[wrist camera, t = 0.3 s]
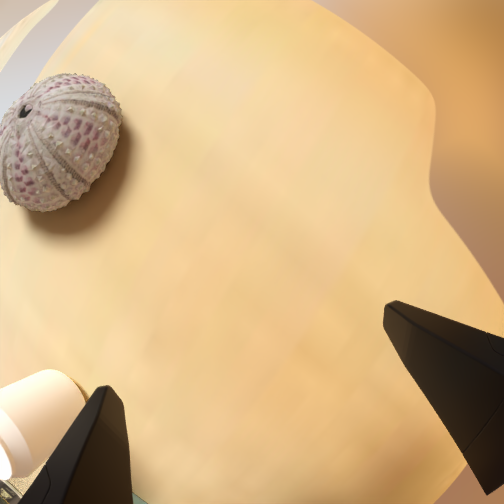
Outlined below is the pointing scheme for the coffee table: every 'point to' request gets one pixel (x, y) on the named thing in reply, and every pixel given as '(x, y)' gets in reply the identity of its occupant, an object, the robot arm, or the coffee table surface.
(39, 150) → the sea urchin shell
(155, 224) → the coffee table surface
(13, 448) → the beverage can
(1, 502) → the coffee can
